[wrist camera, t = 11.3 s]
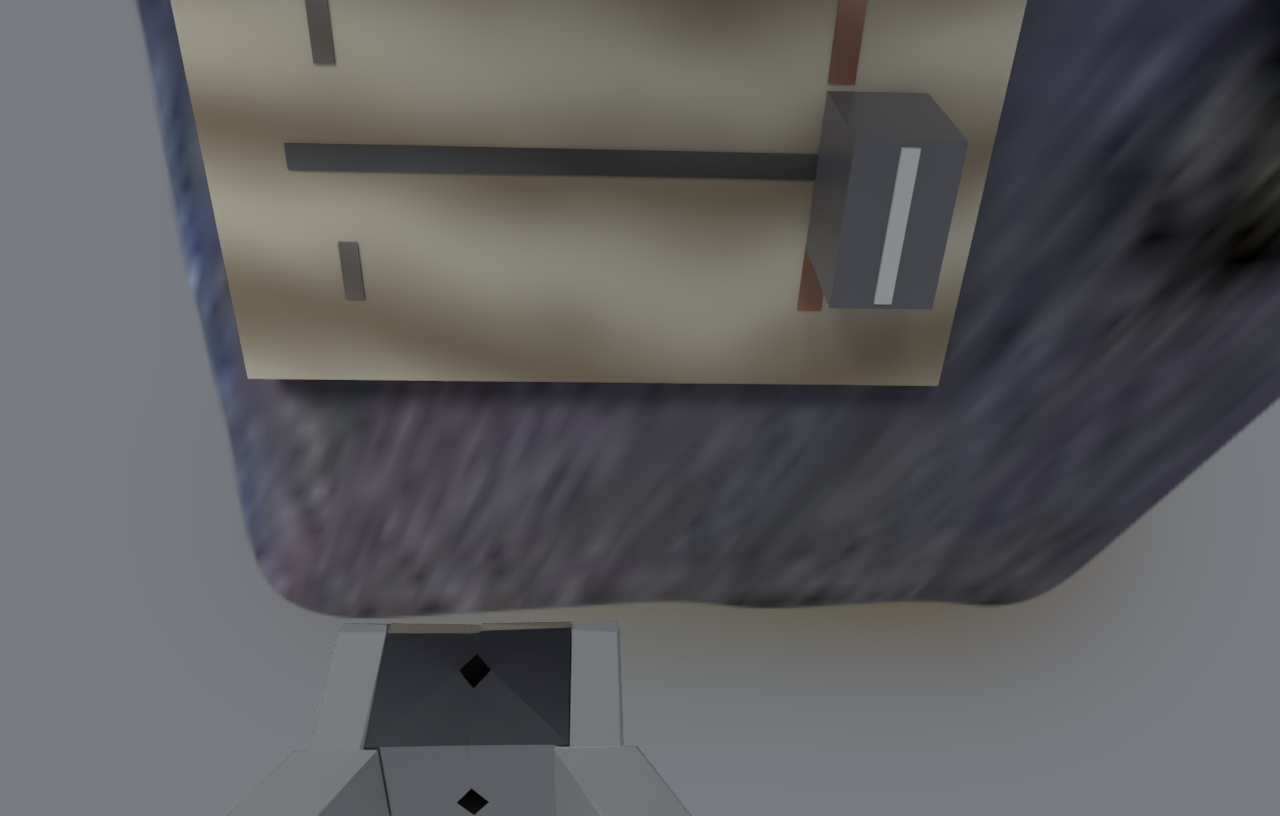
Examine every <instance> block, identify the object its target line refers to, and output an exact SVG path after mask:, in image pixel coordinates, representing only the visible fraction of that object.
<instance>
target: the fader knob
mask: <svg viewBox="0 0 1280 816" xmlns="http://www.w3.org/2000/svg"><path fill="white" fill-rule="evenodd" d="M968 142H969V141H968V140H967V139H966V137H965V136H964V135H963V134H962V133H961V132H960V130H959V129H958V128H957V127H956V126H955V124H954V123H953V122H952V121H951V120H950V118H949V117H948V116H947V115H946V114H945V112H944V111H943V110H942V109H941V108H940V106H939V105H938V104H937V103H936V102H935V100H934V99H933V98H932V97H931V96H930V95H929V93H895V92H854V91H827V95H826V103H825V110H824V117H823V125H822V132H821V140H820V147H819V154H818V162H817V169H816V176H815V184H814V191H813V199H812V206H811V213H810V221H809V228H808V236H807V243H806V249H807V252H808V254H809V257H810V260H811V262H812V265H813V267H814V270H815V273H816V275H817V278H818V280H819V283H820V286H821V288H822V291H823V294H824V296H825V299H826V301H827V304H828V307H829V308H850V309H922V310H932V308H933V304H934V299H935V295H936V290H937V285H938V281H939V276H940V271H941V267H942V262H943V258H944V253H945V248H946V244H947V239H948V235H949V230H950V225H951V221H952V216H953V211H954V207H955V202H956V198H957V193H958V188H959V184H960V179H961V175H962V170H963V165H964V161H965V156H966V152H967V147H968Z"/></svg>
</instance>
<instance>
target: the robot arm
mask: <svg viewBox="0 0 1280 816" xmlns="http://www.w3.org/2000/svg"><path fill="white" fill-rule="evenodd" d="M228 816H692V815H691V814H690V813H689V812H688V810H687V809H686V808H685V806H684V805H683V804H682V803H681V801H680V800H679V799H678V797H677V796H676V795H675V794H674V792H673V791H672V790H671V788H670V787H669V786H668V785H667V783H666V782H665V781H664V780H663V778H662V777H661V776H660V774H659V773H658V772H657V771H656V769H655V768H654V767H653V765H652V764H651V763H650V762H649V761H648V759H647V758H646V757H645V755H644V754H643V753H642V751H641V750H640V749H639V748H638V746H624V743H623V715H622V687H621V659H620V631H619V626H618V623H617V622H573V623H572V653H571V622H537V623H536V622H535V623H484V624H482V625H465V624H404V623H400V624H399V623H392V624H355V623H354V624H353V623H349V624H348V623H344V625H343V626H342V628H341V629H340V631H339V633H338V635H337V637H336V641H335V645H334V649H333V653H332V657H331V661H330V665H329V669H328V672H327V676H326V681H325V684H324V688H323V692H322V696H321V700H320V704H319V708H318V712H317V716H316V720H315V724H314V728H313V732H312V736H311V740H310V744H309V748H308V750H306V751H293V752H292V753H291V754H290V755H289V756H288V757H287V758H286V759H285V760H284V761H283V762H282V763H281V764H280V765H279V766H278V767H277V768H276V769H275V770H274V771H273V772H272V773H271V774H270V775H269V776H268V777H267V778H266V779H265V780H263V782H262V783H260V784H259V785H258V786H257V787H256V788H255V789H254V790H253V791H252V792H251V793H250V794H249V795H248V796H247V797H246V798H245V799H244V800H243V801H242V802H241V803H240V804H239V805H238V806H237V807H236V808H235V809H234V810H233V811H232V812H231V813H230V814H229V815H228Z"/></svg>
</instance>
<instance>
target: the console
mask: <svg viewBox="0 0 1280 816" xmlns="http://www.w3.org/2000/svg"><path fill="white" fill-rule="evenodd" d="M170 1H171V6H172V11H173V16H174V20H175V25H176V30H177V35H178V40H179V45H180V50H181V55H182V59H183V64H184V69H185V74H186V79H187V84H188V89H189V94H190V98H191V103H192V108H193V113H194V118H195V123H196V128H197V133H198V138H199V142H200V147H201V152H202V157H203V162H204V167H205V172H206V177H207V181H208V186H209V191H210V196H211V201H212V206H213V211H214V216H215V221H216V225H217V230H218V235H219V240H220V245H221V250H222V255H223V260H224V264H225V269H226V274H227V279H228V284H229V289H230V294H231V299H232V303H233V308H234V313H235V318H236V323H237V328H238V333H239V338H240V343H241V347H242V352H243V357H244V362H245V367H246V372H247V377H248V379H312V380H409V381H507V382H604V383H702V384H799V385H896V386H938V384H939V380H940V376H941V371H942V367H943V363H944V358H945V354H946V350H947V345H948V341H949V337H950V332H951V328H952V324H953V319H954V315H955V311H956V306H957V302H958V298H959V293H960V289H961V285H962V280H963V276H964V272H965V267H966V263H967V259H968V254H969V250H970V246H971V242H972V237H973V233H974V229H975V224H976V220H977V216H978V211H979V207H980V203H981V198H982V194H983V190H984V185H985V181H986V177H987V172H988V168H989V164H990V159H991V155H992V151H993V146H994V142H995V138H996V133H997V129H998V125H999V120H1000V116H1001V112H1002V107H1003V103H1004V99H1005V94H1006V90H1007V86H1008V81H1009V77H1010V73H1011V68H1012V64H1013V60H1014V55H1015V51H1016V47H1017V42H1018V38H1019V34H1020V29H1021V25H1022V21H1023V16H1024V12H1025V8H1026V3H1027V0H170ZM827 91H854V92H895V93H929V95H930V96H931V97H932V98H933V99H934V100H935V102H936V103H937V104H938V105H939V106H940V108H941V109H942V110H943V111H944V112H945V114H946V115H947V116H948V117H949V118H950V120H951V121H952V122H953V123H954V124H955V126H956V127H957V128H958V129H959V130H960V132H961V133H962V134H963V135H964V136H965V137H966V139H967V140H968V141H969V142H968V147H967V152H966V156H965V161H964V165H963V170H962V175H961V179H960V184H959V188H958V193H957V198H956V202H955V207H954V211H953V216H952V221H951V225H950V230H949V235H948V239H947V244H946V248H945V253H944V258H943V262H942V267H941V271H940V276H939V281H938V285H937V290H936V295H935V299H934V304H933V308H932V310H922V309H850V308H829V307H828V304H827V301H826V299H825V296H824V294H823V291H822V288H821V286H820V283H819V280H818V278H817V275H816V273H815V270H814V267H813V265H812V262H811V260H810V257H809V254H808V252H807V249H806V243H807V236H808V228H809V221H810V213H811V206H812V199H813V191H814V184H815V176H816V169H817V162H818V154H819V147H820V140H821V132H822V125H823V117H824V110H825V103H826V95H827Z"/></svg>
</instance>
